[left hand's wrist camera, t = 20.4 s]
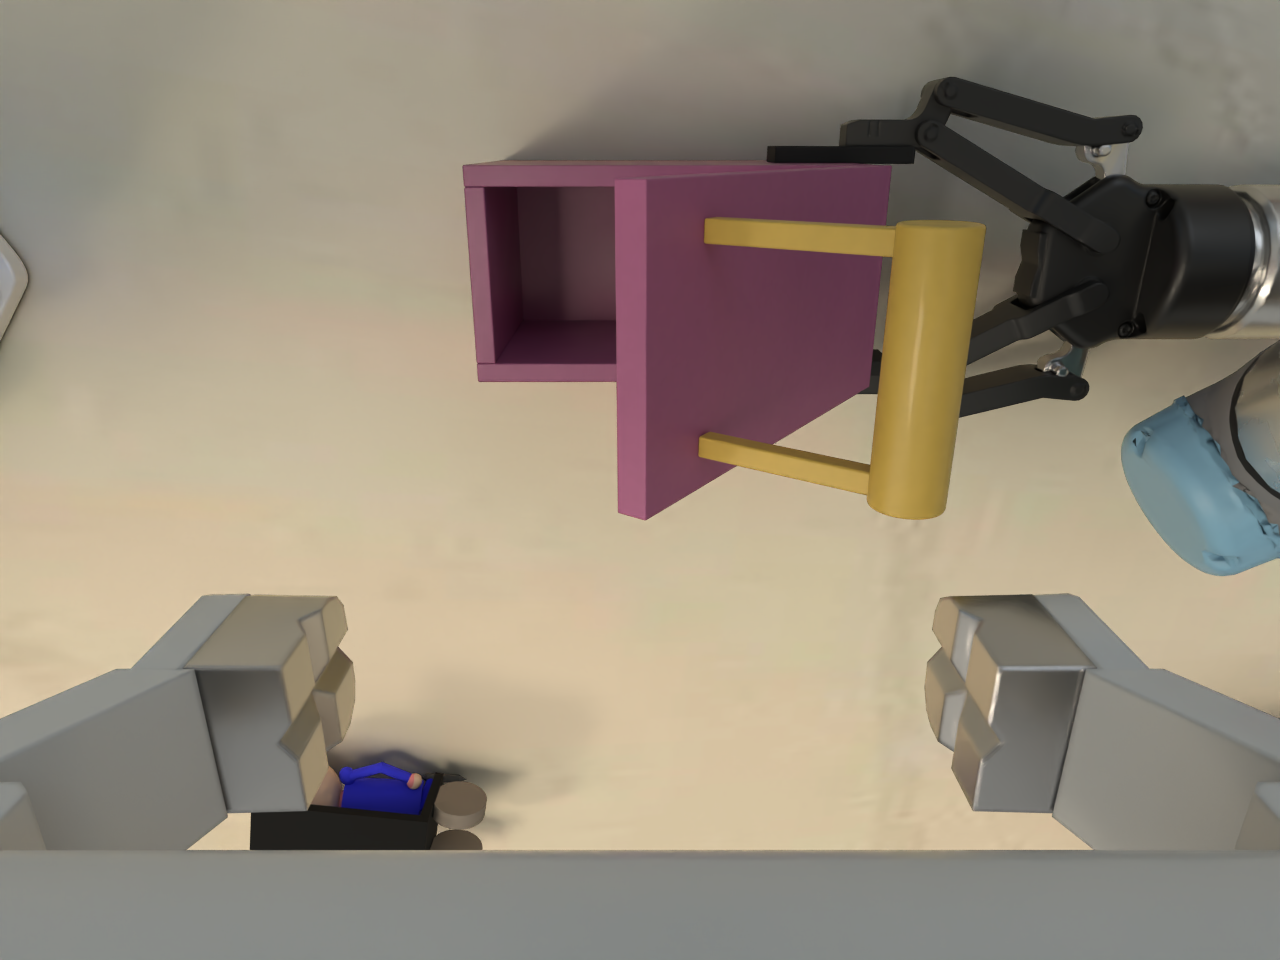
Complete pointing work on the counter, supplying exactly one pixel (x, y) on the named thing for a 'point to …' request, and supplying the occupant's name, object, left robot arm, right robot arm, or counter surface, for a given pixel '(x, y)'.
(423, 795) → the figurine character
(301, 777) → the left robot arm
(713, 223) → the lid
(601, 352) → the chest
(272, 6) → the counter surface
